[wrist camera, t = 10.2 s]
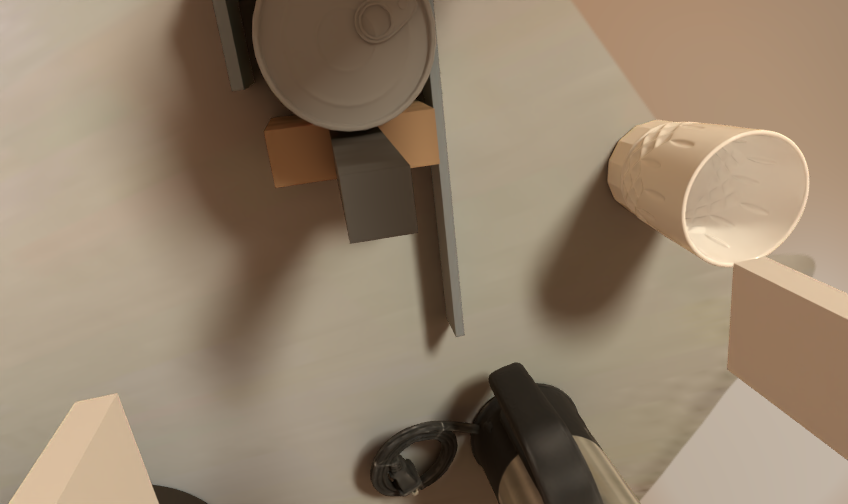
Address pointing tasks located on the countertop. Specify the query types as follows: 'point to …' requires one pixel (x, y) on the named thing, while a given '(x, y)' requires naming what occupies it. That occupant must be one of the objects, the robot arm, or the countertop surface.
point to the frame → (432, 93)
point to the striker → (359, 166)
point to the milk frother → (514, 449)
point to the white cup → (711, 186)
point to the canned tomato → (345, 57)
